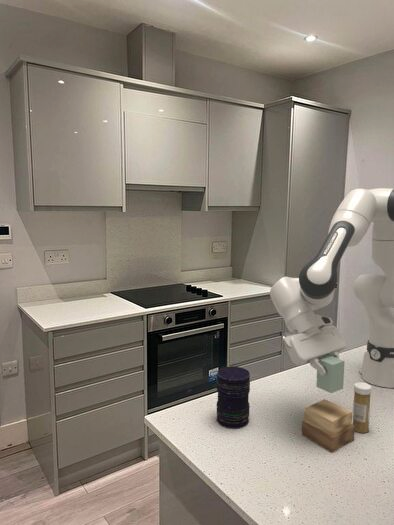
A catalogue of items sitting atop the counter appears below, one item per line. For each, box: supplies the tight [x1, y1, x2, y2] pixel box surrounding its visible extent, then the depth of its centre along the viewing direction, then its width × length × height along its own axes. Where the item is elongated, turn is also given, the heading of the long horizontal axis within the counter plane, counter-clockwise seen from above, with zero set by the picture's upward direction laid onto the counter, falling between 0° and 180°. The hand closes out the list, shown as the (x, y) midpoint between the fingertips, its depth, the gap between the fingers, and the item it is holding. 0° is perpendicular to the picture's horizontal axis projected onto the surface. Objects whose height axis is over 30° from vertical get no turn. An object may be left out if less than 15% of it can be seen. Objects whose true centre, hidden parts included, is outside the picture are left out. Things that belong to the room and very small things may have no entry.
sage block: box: [315, 355, 346, 394], centre depth 111 cm, size 5×5×8 cm
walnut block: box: [301, 420, 356, 453], centre depth 113 cm, size 10×10×4 cm
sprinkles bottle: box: [352, 381, 372, 434], centre depth 116 cm, size 5×5×13 cm
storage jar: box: [216, 366, 251, 430], centre depth 121 cm, size 10×10×15 cm
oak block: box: [303, 398, 353, 436], centre depth 112 cm, size 9×9×4 cm
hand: (332, 371), depth 110 cm, fingers closed on sage block, 5 cm apart
